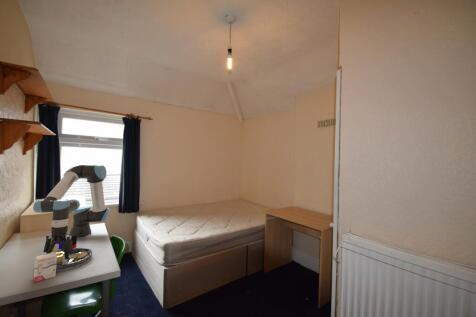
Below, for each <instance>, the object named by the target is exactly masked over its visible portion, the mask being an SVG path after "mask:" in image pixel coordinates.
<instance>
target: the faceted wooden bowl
mask: <svg viewBox="0 0 476 317" xmlns="http://www.w3.org/2000/svg"><path fill="white" fill-rule="evenodd" d="M56 254H57V264H56V265H62V260H63V254H64V252H57V253H56Z"/></svg>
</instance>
